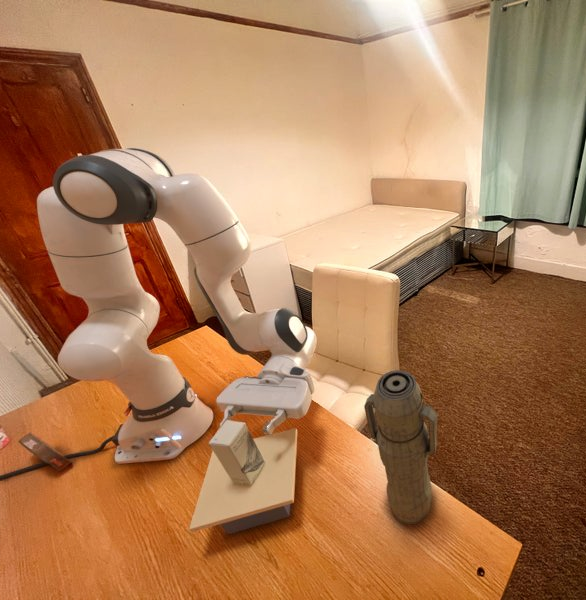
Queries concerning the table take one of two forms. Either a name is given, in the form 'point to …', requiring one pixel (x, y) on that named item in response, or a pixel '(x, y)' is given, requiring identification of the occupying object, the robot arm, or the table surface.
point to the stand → (250, 489)
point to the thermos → (403, 443)
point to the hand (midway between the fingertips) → (244, 430)
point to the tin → (44, 451)
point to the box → (237, 452)
